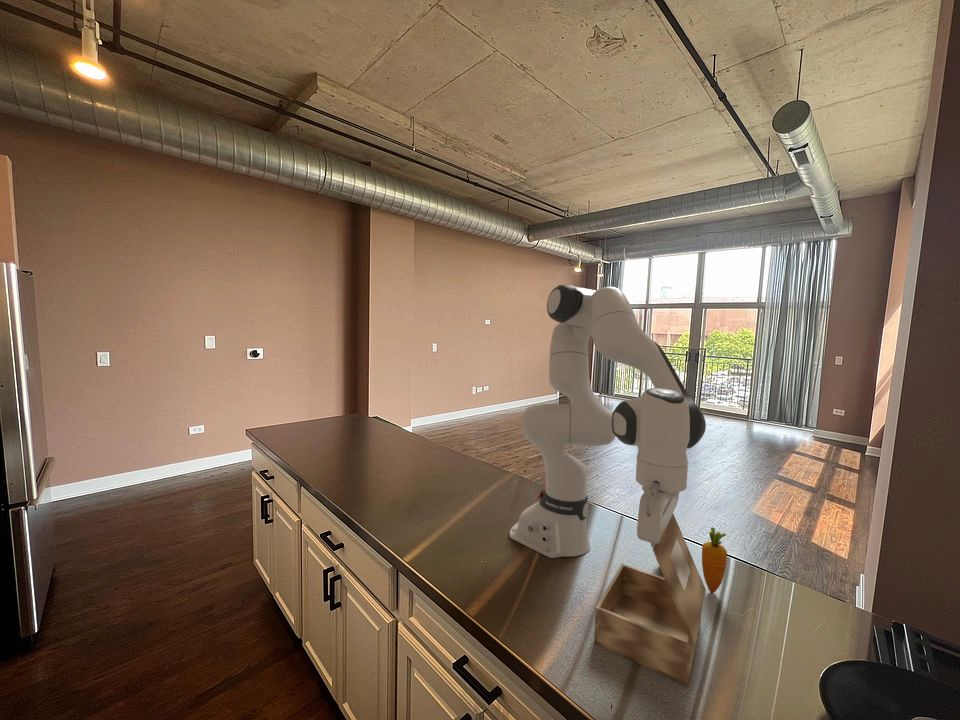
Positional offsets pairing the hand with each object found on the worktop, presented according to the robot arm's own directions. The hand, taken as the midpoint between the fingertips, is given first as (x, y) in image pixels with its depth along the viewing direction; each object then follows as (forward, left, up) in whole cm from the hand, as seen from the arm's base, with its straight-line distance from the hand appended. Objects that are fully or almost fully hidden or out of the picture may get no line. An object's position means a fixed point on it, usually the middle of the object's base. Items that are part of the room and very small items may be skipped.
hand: (657, 545), depth 76 cm
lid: (+4, 0, -4) cm, 6 cm away
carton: (-1, 0, -18) cm, 18 cm away
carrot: (+8, +22, -18) cm, 30 cm away
